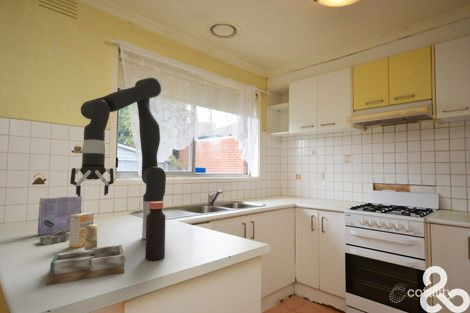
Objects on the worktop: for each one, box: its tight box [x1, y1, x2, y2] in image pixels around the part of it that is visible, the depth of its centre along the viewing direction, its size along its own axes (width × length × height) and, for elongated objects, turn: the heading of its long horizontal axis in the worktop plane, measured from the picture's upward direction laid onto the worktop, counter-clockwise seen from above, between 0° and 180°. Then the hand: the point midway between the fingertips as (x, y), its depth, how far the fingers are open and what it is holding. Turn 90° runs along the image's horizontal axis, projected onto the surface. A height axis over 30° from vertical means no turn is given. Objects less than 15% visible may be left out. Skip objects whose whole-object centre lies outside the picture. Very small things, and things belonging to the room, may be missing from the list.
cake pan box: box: [37, 195, 83, 236], centre depth 134 cm, size 19×5×18 cm, turn 144°
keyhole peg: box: [83, 223, 99, 251], centre depth 97 cm, size 6×6×11 cm
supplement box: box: [68, 212, 95, 249], centre depth 111 cm, size 8×5×13 cm, turn 168°
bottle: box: [144, 201, 167, 262], centre depth 95 cm, size 7×7×20 cm
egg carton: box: [38, 230, 70, 245], centre depth 116 cm, size 11×8×4 cm
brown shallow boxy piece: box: [45, 244, 125, 286], centre depth 84 cm, size 20×16×5 cm
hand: (92, 195), depth 98 cm, fingers open, 8 cm apart
